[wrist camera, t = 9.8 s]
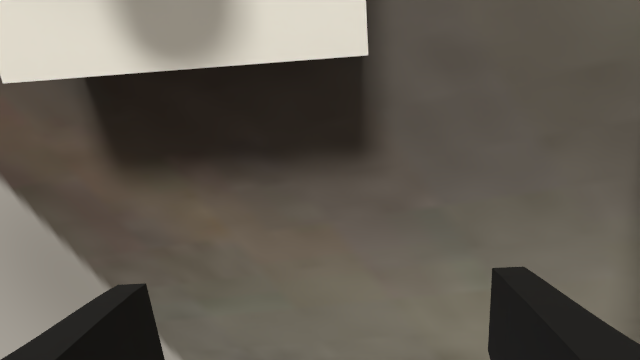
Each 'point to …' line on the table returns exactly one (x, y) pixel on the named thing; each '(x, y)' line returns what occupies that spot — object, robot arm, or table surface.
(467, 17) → the table surface
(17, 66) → the socket block
